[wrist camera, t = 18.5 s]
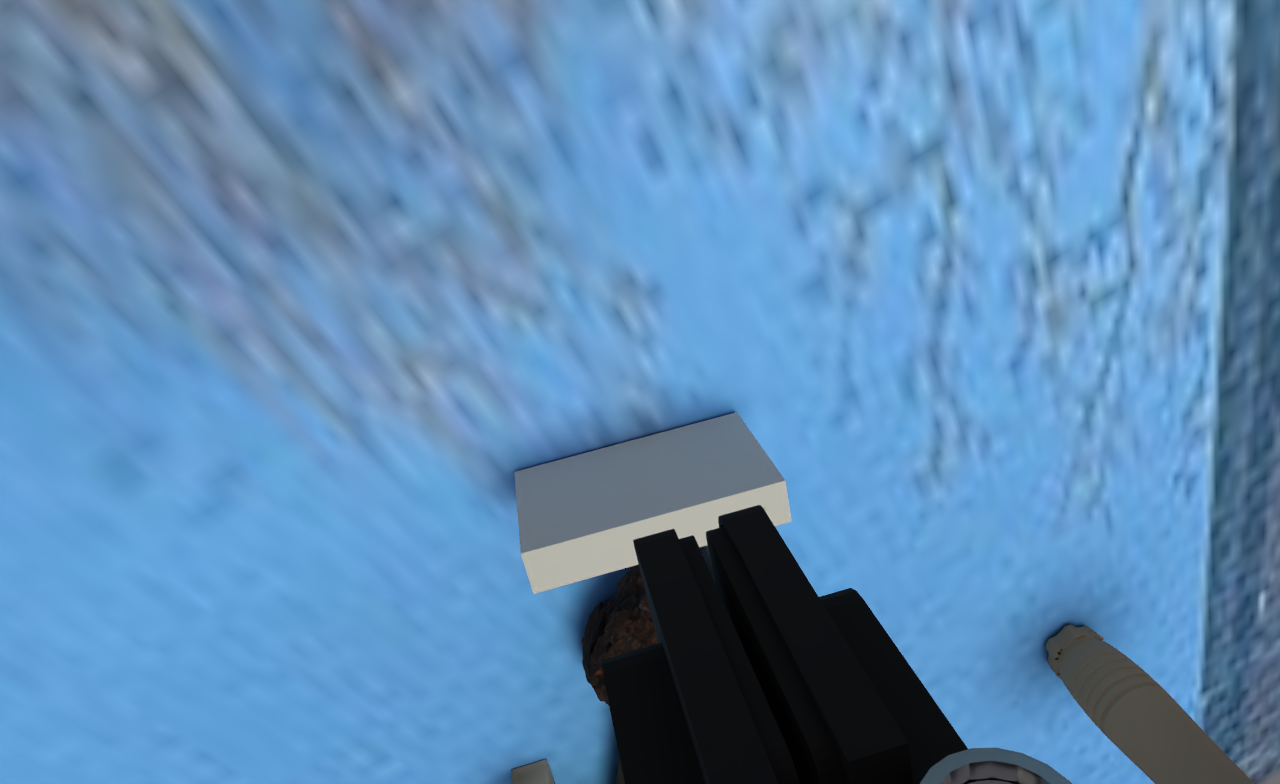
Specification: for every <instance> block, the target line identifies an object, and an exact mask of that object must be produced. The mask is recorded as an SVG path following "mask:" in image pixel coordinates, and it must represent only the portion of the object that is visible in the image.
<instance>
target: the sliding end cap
mask: <svg viewBox="0 0 1280 784" xmlns="http://www.w3.org/2000/svg"><path fill="white" fill-rule="evenodd" d="M514 475H515V487H516V500H517V512H518V524H519V536H520V548H521V556H522V559H523V562H524V565H525V568H526V571H527V574H528V578H529V581H530V584H531V587H532V590H533V593H534V594H535V593H539V592H542V591H546V590H549V589H553V588H557V587H560V586H564V585H567V584H571V583H574V582H578V581H581V580H585V579H589V578H592V577H596V576H599V575H603V574H606V573H610V572H614V571H617V570H621V569H624V568H628V567H631V566H635V565H638V560H637V556H636V552H635V548H634V543H633V540H634V539H638V538H642V537H645V536H649V535H652V534H656V533H660V532H663V531H667V530H670V529H675V531H676V533H677V536H678V538H679V539H681V538H685V537H688V536H692V535H693V536H694V537H695V539H696V541H697V543H698V546H699V547H702V550H703V555H704V559H705V562H706V563H708V564H707V566H708V568H709V571H710V573H711V575H712V577H713V580H714V582H715V579H714V574H713V569H712V564H711V560H710V555H709V550H708V545H707V540H706V531H710V530H713V529H717V528H719V523H718V517H719V516H721V515H724V514H728V513H731V512H735V511H739V510H742V509H746V508H749V507H753V506H757V505H761V506H762V507H763V509H764V510H765V512H766V513H767V515H768V517H769V518H770V520H771V521H772V523H773V525H774V526H777V525H781V524H784V523H788V522H791V521H792V520H791V514H790V507H789V501H788V494H787V488H786V481H785V479H784V478H783V477H782V475H781V474H780V472H779V471H778V469H777V468H776V467H775V465H774V464H773V462H772V461H771V460H770V458H769V457H768V455H767V454H766V453H765V451H764V450H763V448H762V447H761V446H760V444H759V443H758V441H757V440H756V439H755V437H754V436H753V434H752V433H751V431H750V430H749V429H748V427H747V426H746V424H745V423H744V422H743V420H742V419H741V417H740V416H739V415H738V413H737V412H736V413H732V414H728V415H725V416H721V417H717V418H713V419H710V420H706V421H702V422H699V423H695V424H691V425H687V426H684V427H680V428H676V429H672V430H669V431H665V432H661V433H658V434H654V435H650V436H646V437H643V438H639V439H635V440H631V441H628V442H624V443H620V444H616V445H613V446H609V447H605V448H602V449H598V450H594V451H590V452H587V453H583V454H579V455H575V456H572V457H568V458H564V459H561V460H557V461H553V462H549V463H546V464H542V465H538V466H534V467H531V468H527V469H523V470H520V471H516V472H514Z"/></svg>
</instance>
